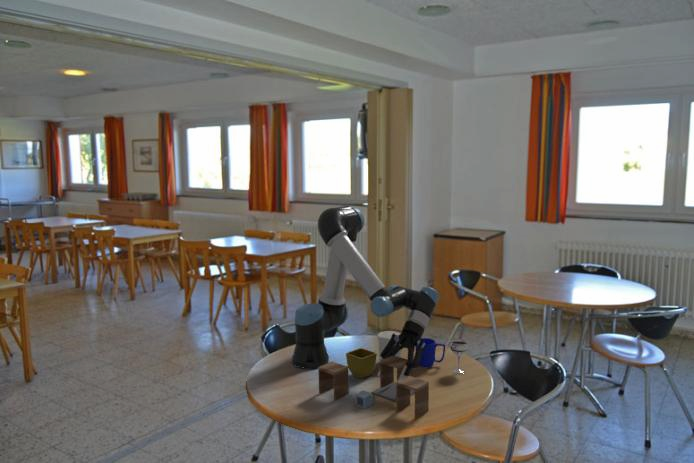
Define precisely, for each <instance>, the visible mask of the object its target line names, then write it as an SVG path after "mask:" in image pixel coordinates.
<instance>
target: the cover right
mask: <svg viewBox="0 0 694 463" xmlns="http://www.w3.org/2000/svg"><path fill="white" fill-rule="evenodd" d="M395 383H396V401H395V402H396V403H395V404H396V407H395V408H396V412H400V411H402V410H404V409H405V408H407V407H408V406H410V405H411V396H410V390H413V391H415V393H414V418H415V419H418V418H420V417H421V416H422V415H424V414H426V413H428V412H429V411H430V410H429V403H430V402H429V401H430V399H429V394H430V393H429V391H430V390H429V389H430V388H429V386H430V384H429V383H430V382H429V381H427V380H424V379H421V378H418V377H414V376H411V375H410V376H407V377H405V378H403V379H401V380H400V381H398V382H397V381H396V382H395Z"/></svg>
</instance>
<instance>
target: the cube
mask: <svg viewBox="0 0 694 463" xmlns="http://www.w3.org/2000/svg"><path fill="white" fill-rule="evenodd" d="M372 405H373V393H372V392H367V391H365V390H362V391H360V392H358V393H356V394H355V406H356V407H359V408H361V409H364V410H366V409H367V408H369V407H371V406H372Z"/></svg>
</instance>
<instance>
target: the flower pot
mask: <svg viewBox="0 0 694 463" xmlns="http://www.w3.org/2000/svg"><path fill="white" fill-rule="evenodd" d="M377 355H378V353H377V352H376V351H372V350H370V349H365V348H364V347H360V348H357V349H354V350H350V351H348V352H346V353H345V357H346V363H347V365H346V366H348V371H349V373H351V375H353V376H354V377H357V378H359V379H363V378H366V377H369V376H371V374H372V373H373V371H374V369H375V366H376V363H377Z"/></svg>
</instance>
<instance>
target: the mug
mask: <svg viewBox="0 0 694 463" xmlns="http://www.w3.org/2000/svg"><path fill="white" fill-rule="evenodd" d="M420 341H423V342H424V343H425V344H426V346H425V347H424V349H423V351H422V355H421V359H420V363H419V366H418V367H420V368H431V367H432V366H434V363H437V364H438V363H442V362H443V361H444V357H445V354H446V344H445V343H439V342H438V343H436V340H434V339H432V338H427V337H421V338H420ZM417 346H418V344H417V345H416V346H415V350H414V351H416V349H417ZM439 346H441V347H443V351H442V356H441V358H440V359H438V360H437V359H436V349H437V347H439Z"/></svg>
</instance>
